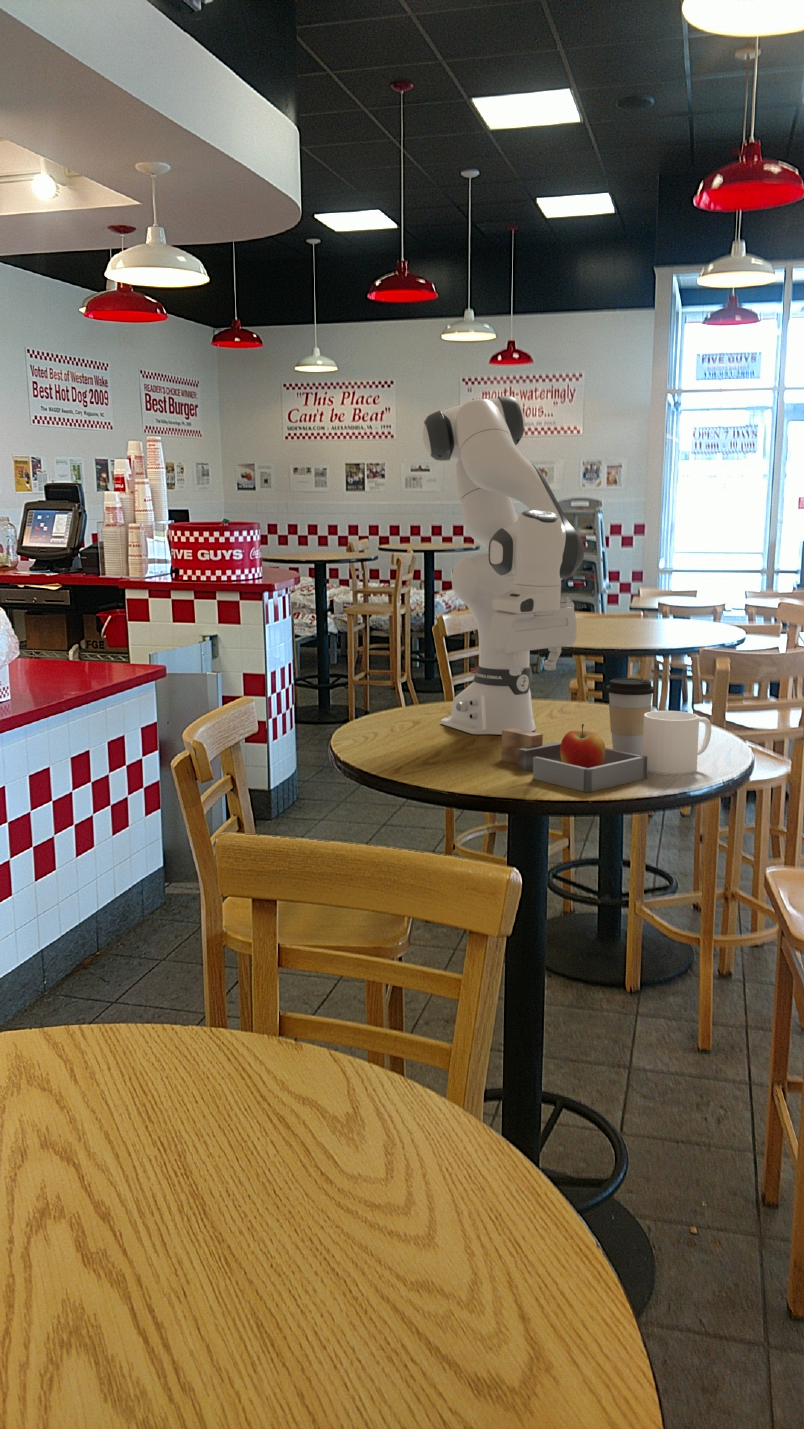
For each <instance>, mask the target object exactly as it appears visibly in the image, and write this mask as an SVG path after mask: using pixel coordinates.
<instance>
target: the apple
mask: <svg viewBox="0 0 804 1429" xmlns="http://www.w3.org/2000/svg"><path fill="white" fill-rule="evenodd" d="M560 743H561V747H560V757H561V761H562V762H563V763H568V764H572V765H576V766H581V767H585V768H591V767H596V766H600V765H602V764H603V762H604V758H605V748H606V744H605V741H604V740H603V738H602V737H601V735H598V734H597V733H595V732H593V731H588V730H584V723H583V724H581V730H570V731H568V732H567V733H565V735H564V736H563V737H562V740H561V742H560Z"/></svg>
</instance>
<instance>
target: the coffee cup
mask: <svg viewBox="0 0 804 1429" xmlns="http://www.w3.org/2000/svg"><path fill="white" fill-rule="evenodd" d="M605 692H606V693H608V700H609V701H608V702H609V704H608V710H609V723H610V724H609V727H610V732H611V739H612V740H611V741H612V743H611V744H612V749H613V750H618V751H622V752H627V753H632V754H637V755H642V752H643V726H644V714H645V713H647V712H652V711H651V710H652V700H653V699H652V698H653V694H654V693H656V692H655V687H654V686H652V680H651V681H650V680H648V679H643V678H632V677H631V678H630V677H620V678H619V677H618V678H613V679H610V680H609V684H608V685H606V689H605Z"/></svg>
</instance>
